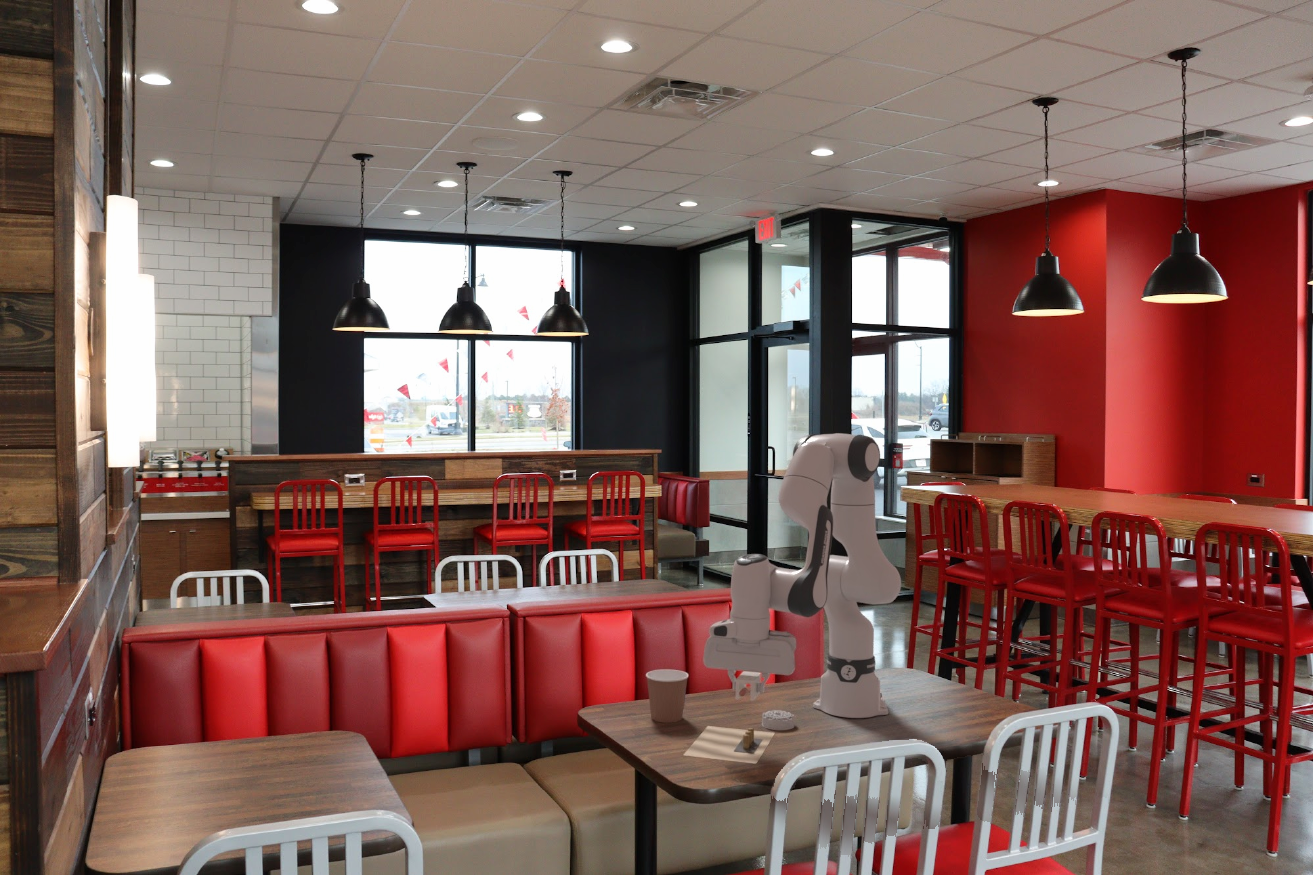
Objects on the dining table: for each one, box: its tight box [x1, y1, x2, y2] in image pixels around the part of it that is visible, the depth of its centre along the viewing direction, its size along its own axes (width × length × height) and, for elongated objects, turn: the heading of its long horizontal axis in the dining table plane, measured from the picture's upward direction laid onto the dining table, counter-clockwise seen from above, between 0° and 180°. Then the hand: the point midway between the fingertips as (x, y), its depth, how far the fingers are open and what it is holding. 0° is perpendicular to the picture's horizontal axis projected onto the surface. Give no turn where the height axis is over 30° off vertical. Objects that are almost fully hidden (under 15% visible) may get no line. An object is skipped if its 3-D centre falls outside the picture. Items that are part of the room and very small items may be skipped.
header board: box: [682, 725, 776, 765], centre depth 228 cm, size 22×16×4 cm
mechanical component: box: [761, 709, 795, 731], centre depth 242 cm, size 10×4×10 cm
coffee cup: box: [645, 668, 689, 724], centre depth 247 cm, size 10×10×12 cm
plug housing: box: [735, 671, 762, 702], centre depth 225 cm, size 11×4×4 cm, turn 163°
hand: (748, 690), depth 226 cm, fingers closed on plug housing, 4 cm apart
